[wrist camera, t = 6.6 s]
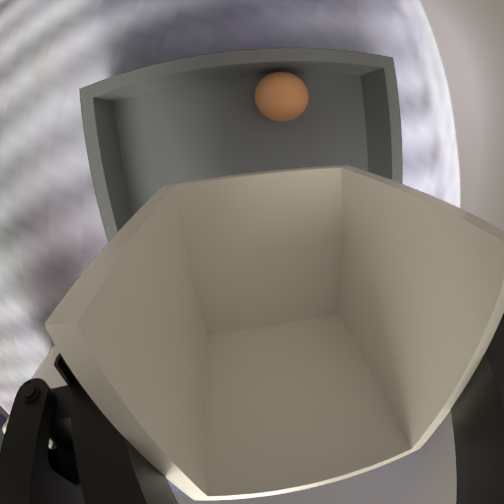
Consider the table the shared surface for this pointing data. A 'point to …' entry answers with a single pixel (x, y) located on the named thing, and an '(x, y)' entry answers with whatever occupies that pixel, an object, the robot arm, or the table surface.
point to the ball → (281, 96)
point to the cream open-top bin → (282, 326)
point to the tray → (235, 122)
